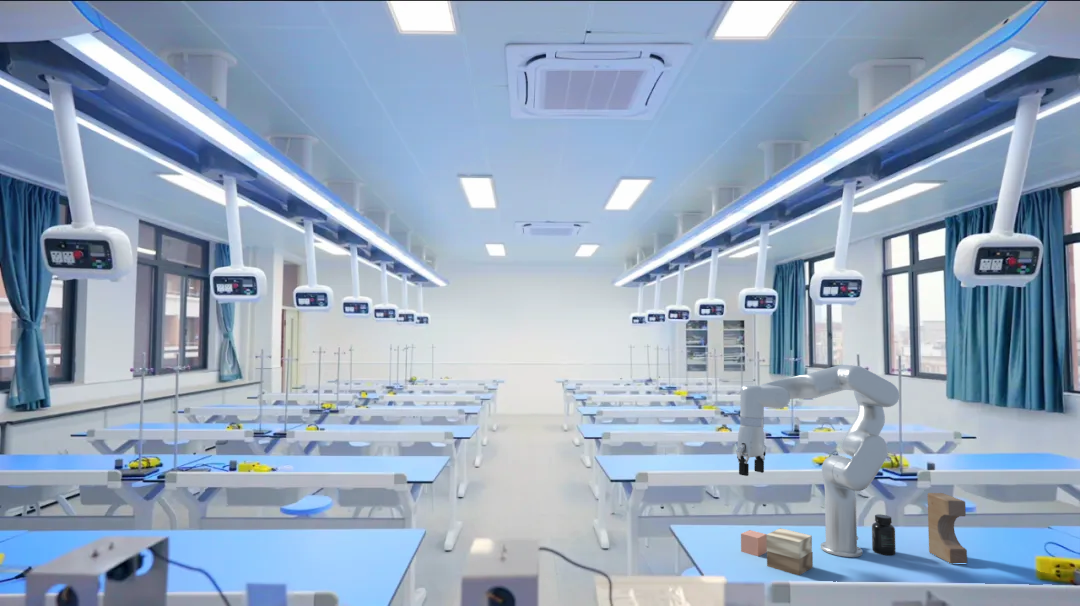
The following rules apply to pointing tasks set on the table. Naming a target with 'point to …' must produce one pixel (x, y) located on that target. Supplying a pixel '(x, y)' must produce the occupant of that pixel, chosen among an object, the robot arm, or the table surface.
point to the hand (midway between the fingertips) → (751, 473)
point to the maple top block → (789, 543)
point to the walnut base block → (790, 563)
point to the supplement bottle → (883, 536)
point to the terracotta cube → (753, 543)
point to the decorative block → (945, 527)
